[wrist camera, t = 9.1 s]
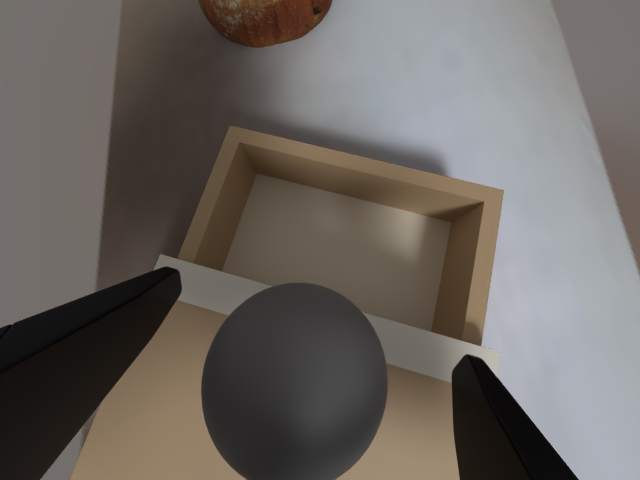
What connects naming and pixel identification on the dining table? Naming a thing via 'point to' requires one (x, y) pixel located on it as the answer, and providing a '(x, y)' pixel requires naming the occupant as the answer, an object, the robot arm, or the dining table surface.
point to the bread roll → (264, 19)
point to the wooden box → (350, 230)
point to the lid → (278, 391)
